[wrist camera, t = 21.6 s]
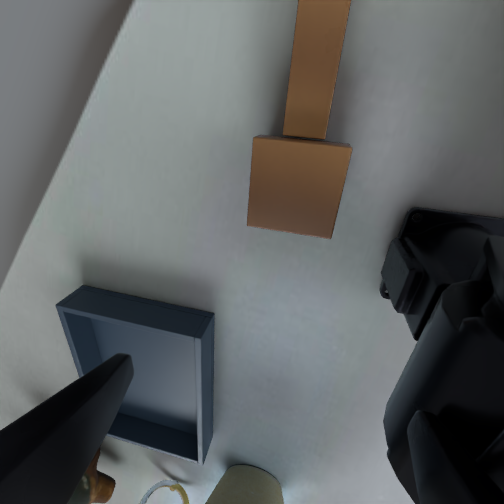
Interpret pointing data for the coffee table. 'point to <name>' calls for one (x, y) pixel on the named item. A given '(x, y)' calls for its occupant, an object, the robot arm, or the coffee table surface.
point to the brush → (304, 134)
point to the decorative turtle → (93, 485)
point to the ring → (173, 487)
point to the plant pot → (246, 487)
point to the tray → (149, 366)
